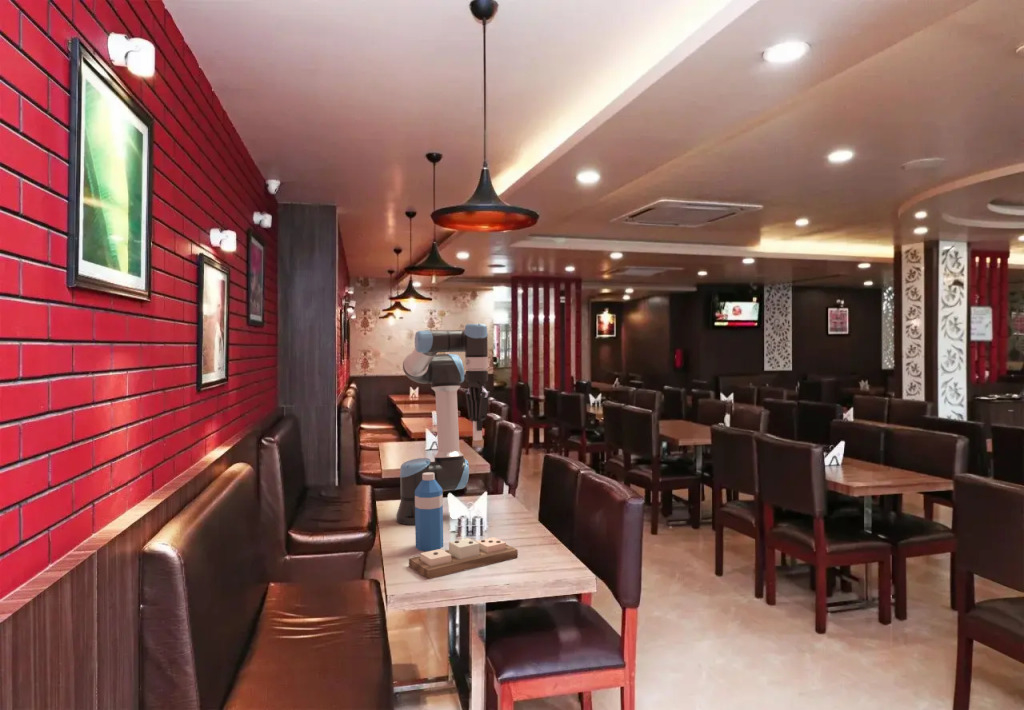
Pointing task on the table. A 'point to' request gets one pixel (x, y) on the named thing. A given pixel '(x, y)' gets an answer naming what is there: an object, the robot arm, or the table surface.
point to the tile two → (463, 548)
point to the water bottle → (429, 514)
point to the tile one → (435, 557)
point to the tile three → (491, 545)
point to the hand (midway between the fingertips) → (477, 440)
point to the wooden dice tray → (462, 562)
